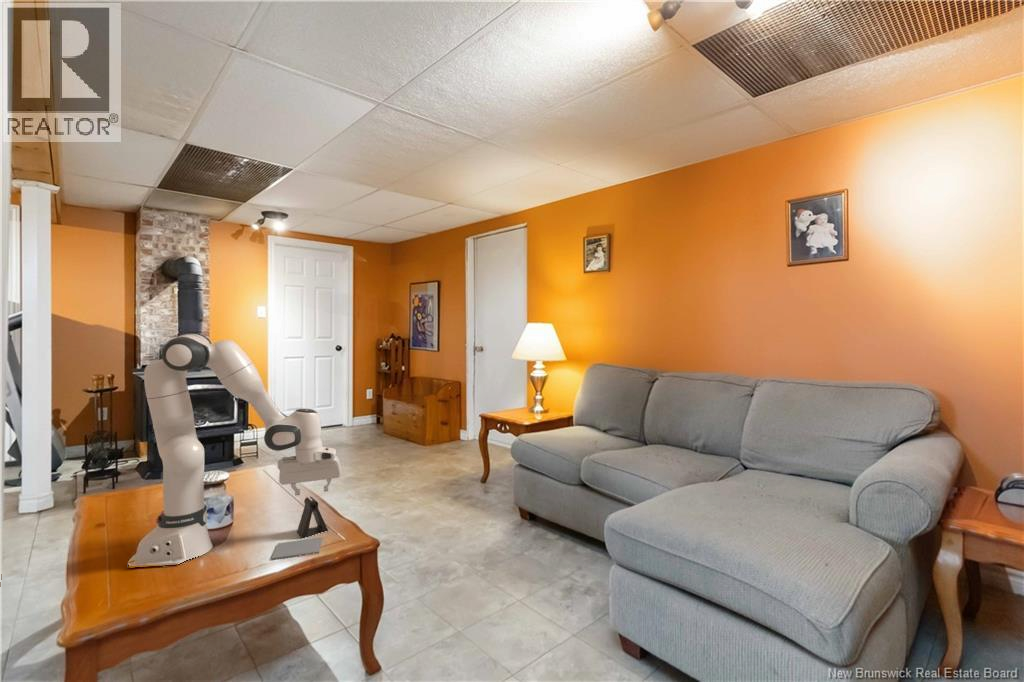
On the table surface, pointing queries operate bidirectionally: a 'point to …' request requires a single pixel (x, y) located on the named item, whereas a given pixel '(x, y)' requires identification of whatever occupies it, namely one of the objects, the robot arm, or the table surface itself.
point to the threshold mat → (297, 548)
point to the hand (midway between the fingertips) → (312, 492)
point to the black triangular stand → (306, 517)
